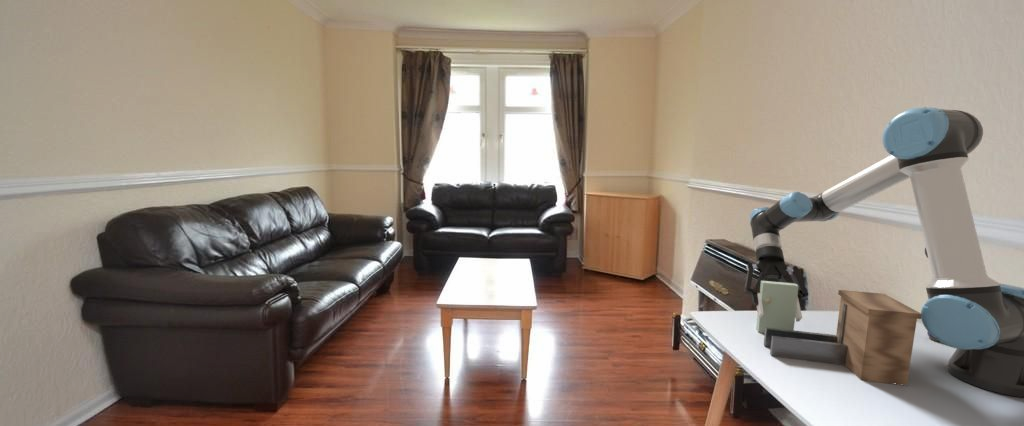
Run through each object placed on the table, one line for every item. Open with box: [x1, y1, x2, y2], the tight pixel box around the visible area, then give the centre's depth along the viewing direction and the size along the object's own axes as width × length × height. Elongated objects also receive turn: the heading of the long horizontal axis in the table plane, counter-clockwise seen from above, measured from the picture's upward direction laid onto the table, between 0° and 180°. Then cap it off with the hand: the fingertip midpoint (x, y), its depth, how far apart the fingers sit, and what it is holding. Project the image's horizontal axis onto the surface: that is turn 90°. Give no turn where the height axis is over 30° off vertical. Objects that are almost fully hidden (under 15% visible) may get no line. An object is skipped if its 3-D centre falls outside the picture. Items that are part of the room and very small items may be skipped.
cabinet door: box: [755, 280, 798, 334], centre depth 127 cm, size 9×3×15 cm, turn 75°
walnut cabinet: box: [835, 289, 922, 386], centre depth 106 cm, size 10×15×17 cm, turn 165°
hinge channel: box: [763, 327, 848, 366], centre depth 114 cm, size 16×7×5 cm, turn 75°
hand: (779, 317), depth 125 cm, fingers closed on cabinet door, 9 cm apart
